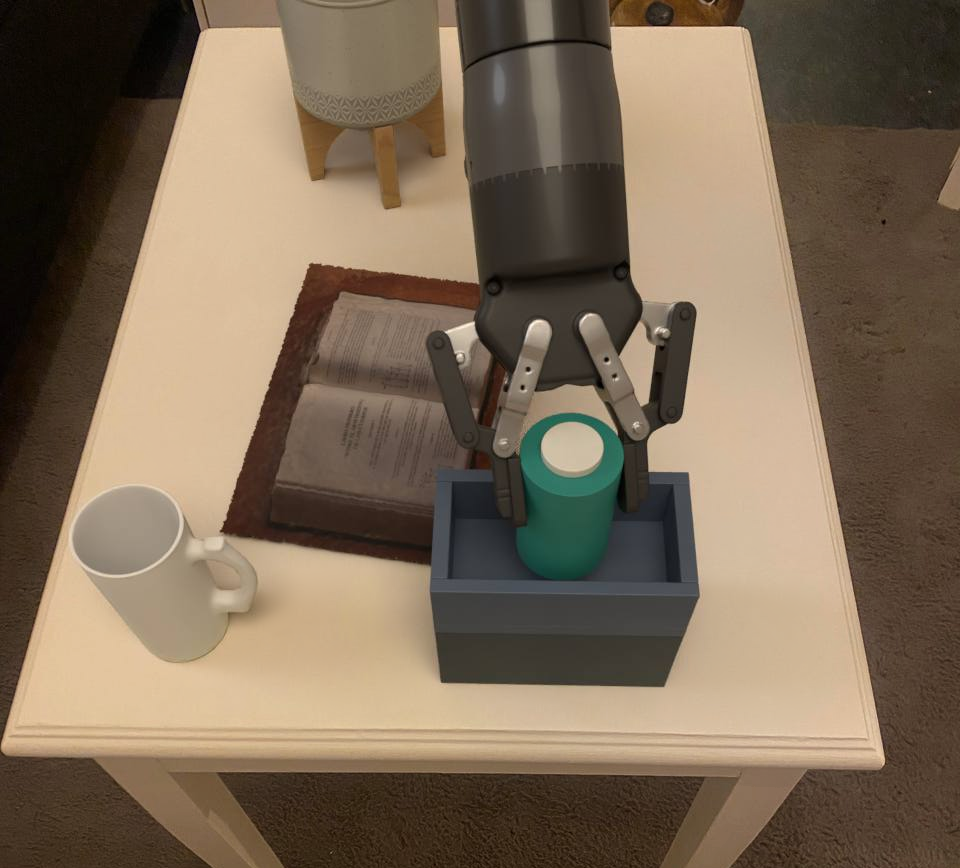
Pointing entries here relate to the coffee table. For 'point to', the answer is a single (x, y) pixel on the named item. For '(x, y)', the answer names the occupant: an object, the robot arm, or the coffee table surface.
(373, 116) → the planter
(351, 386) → the book
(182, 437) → the coffee table surface
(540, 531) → the plastic bottle
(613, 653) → the open storage box
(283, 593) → the coffee table surface
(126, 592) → the mug
